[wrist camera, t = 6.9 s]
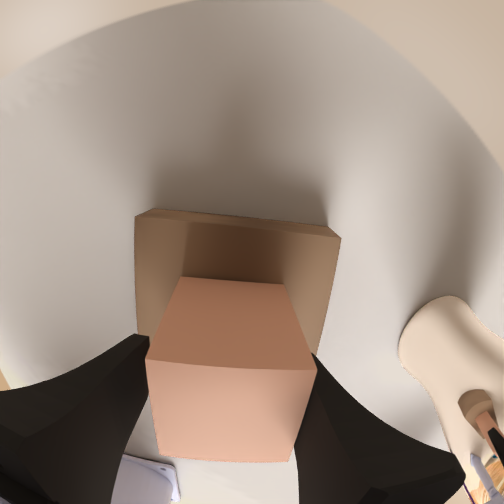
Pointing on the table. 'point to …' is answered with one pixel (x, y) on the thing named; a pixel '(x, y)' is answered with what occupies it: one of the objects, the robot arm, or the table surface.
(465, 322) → the beer glass
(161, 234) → the walnut base
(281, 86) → the table surface
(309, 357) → the terracotta block
